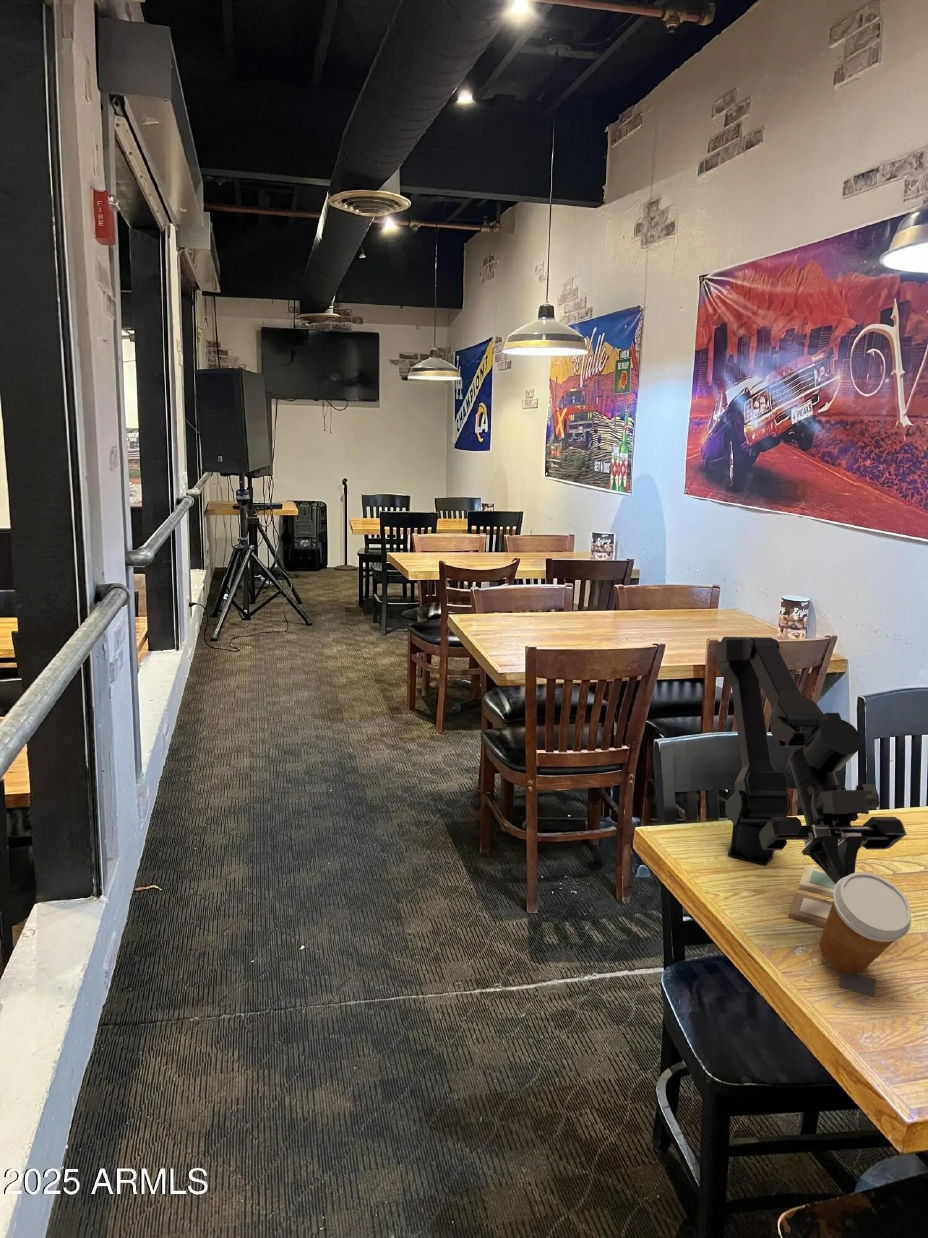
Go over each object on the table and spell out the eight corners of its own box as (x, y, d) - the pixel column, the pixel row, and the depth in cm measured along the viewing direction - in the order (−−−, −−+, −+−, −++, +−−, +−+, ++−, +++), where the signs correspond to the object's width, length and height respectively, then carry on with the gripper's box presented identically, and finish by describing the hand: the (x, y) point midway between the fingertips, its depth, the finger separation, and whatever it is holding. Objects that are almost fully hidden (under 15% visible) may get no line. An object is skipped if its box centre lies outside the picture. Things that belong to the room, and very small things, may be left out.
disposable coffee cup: (804, 968, 112) (834, 916, 105) (809, 911, 119) (838, 859, 112) (879, 998, 109) (915, 946, 102) (880, 938, 117) (914, 885, 109)
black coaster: (839, 986, 110) (839, 985, 109) (842, 970, 113) (843, 969, 113) (873, 997, 108) (873, 996, 108) (875, 980, 111) (875, 979, 111)
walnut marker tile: (788, 917, 126) (789, 912, 125) (795, 896, 132) (796, 891, 131) (839, 931, 122) (839, 926, 122) (844, 909, 128) (845, 904, 128)
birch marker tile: (798, 888, 134) (799, 883, 134) (805, 870, 140) (805, 865, 140) (846, 901, 131) (847, 895, 131) (850, 881, 137) (851, 876, 137)
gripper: (774, 761, 115) (804, 874, 106) (905, 762, 116) (947, 873, 107) (747, 795, 124) (773, 902, 115) (869, 795, 125) (904, 901, 116)
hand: (849, 894), depth 113 cm, fingers closed, pressing on disposable coffee cup
